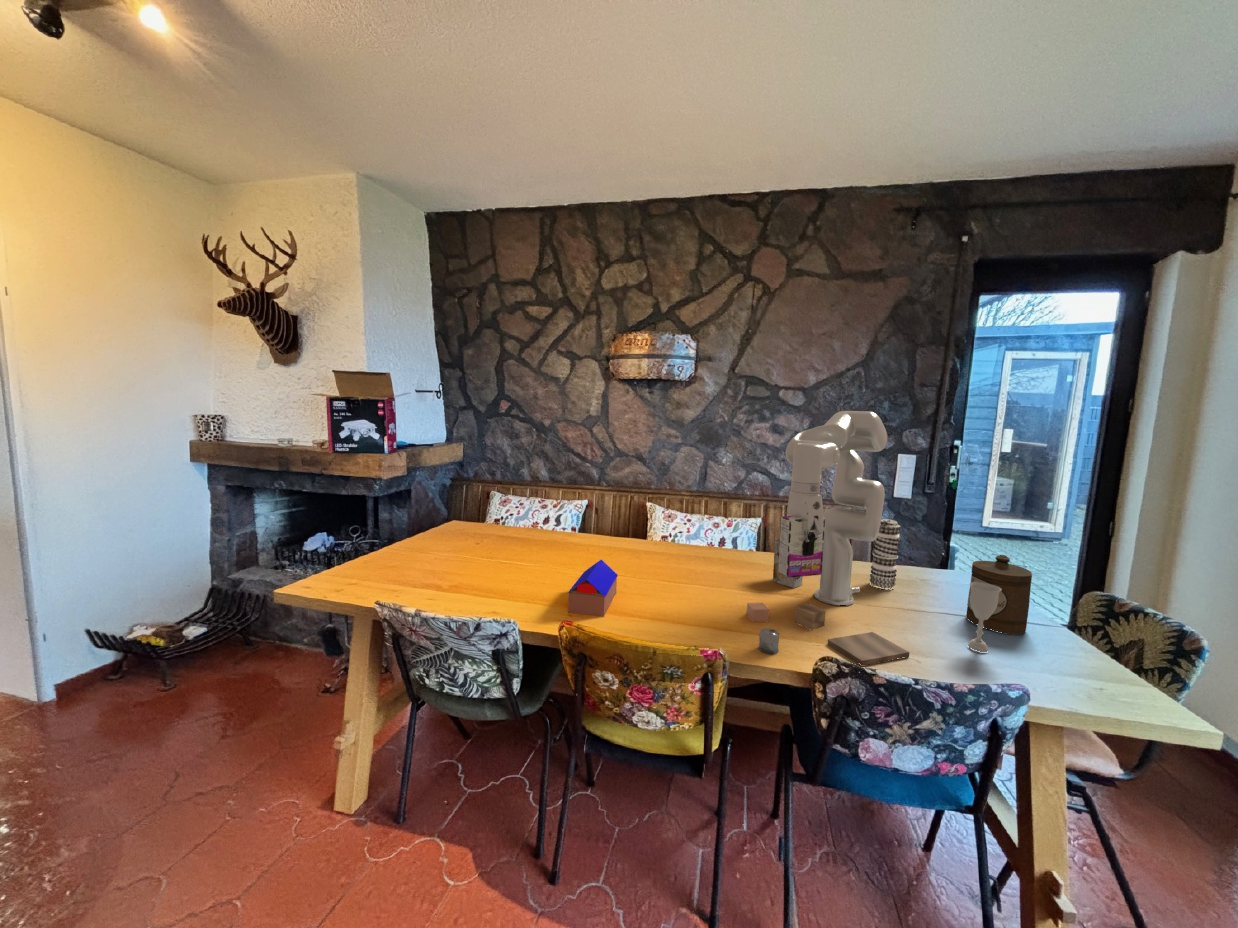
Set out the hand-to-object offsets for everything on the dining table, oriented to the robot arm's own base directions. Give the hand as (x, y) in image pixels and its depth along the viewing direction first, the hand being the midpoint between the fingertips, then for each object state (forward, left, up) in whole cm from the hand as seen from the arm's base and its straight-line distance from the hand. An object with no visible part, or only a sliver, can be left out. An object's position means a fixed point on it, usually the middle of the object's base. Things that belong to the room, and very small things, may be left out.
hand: (800, 551), depth 137 cm
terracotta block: (+3, -14, -25) cm, 29 cm away
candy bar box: (0, 0, -7) cm, 7 cm away
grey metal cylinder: (+12, +4, -25) cm, 28 cm away
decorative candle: (-59, -25, -25) cm, 69 cm away
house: (+49, -38, -26) cm, 67 cm away
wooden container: (-67, +10, -25) cm, 72 cm away
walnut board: (-14, +12, -25) cm, 31 cm away
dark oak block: (-10, -6, -25) cm, 28 cm away
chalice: (-45, +20, -25) cm, 55 cm away
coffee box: (-26, -37, -25) cm, 51 cm away
